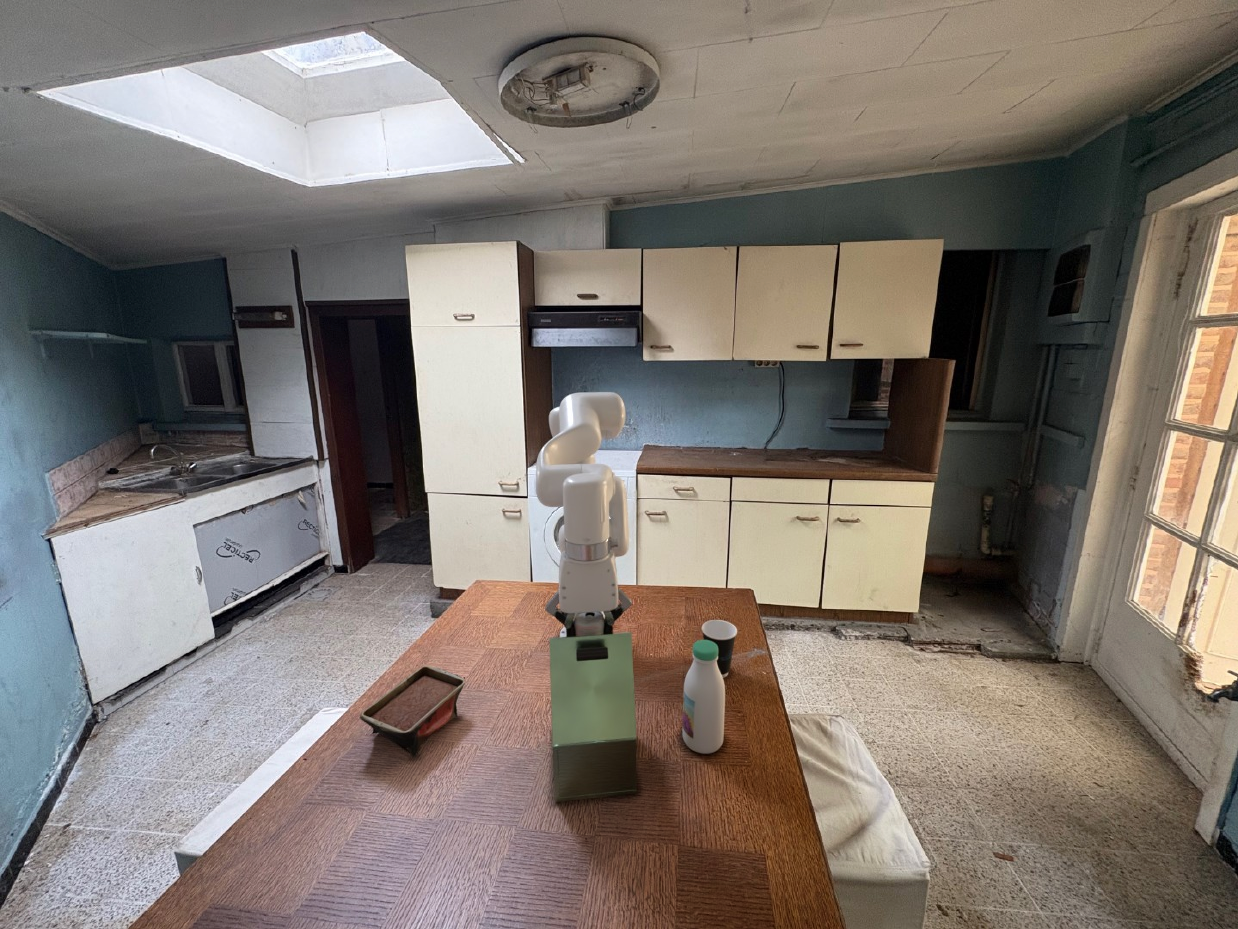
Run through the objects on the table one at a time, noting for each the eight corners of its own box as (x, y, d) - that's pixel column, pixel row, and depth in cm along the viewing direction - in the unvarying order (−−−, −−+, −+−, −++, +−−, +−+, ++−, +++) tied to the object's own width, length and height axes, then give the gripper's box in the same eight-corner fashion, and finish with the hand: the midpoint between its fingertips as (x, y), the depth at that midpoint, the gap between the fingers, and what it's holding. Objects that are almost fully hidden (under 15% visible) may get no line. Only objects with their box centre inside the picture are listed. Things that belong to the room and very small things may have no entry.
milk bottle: (725, 729, 98) (729, 638, 93) (720, 759, 91) (724, 662, 86) (686, 720, 100) (688, 631, 96) (678, 749, 93) (680, 653, 89)
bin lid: (549, 637, 83) (548, 644, 78) (630, 632, 84) (634, 637, 79) (552, 743, 80) (551, 756, 75) (636, 735, 82) (640, 748, 77)
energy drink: (607, 668, 92) (606, 609, 89) (603, 687, 87) (602, 625, 84) (578, 667, 93) (576, 607, 90) (573, 685, 87) (571, 623, 85)
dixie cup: (703, 658, 120) (704, 617, 118) (737, 665, 118) (739, 622, 115) (697, 678, 113) (698, 635, 111) (732, 686, 111) (734, 641, 108)
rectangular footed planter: (474, 722, 103) (473, 675, 103) (400, 773, 88) (399, 718, 87) (425, 705, 110) (424, 660, 110) (348, 750, 94) (347, 698, 94)
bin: (556, 732, 98) (554, 684, 95) (625, 726, 99) (624, 678, 97) (555, 802, 83) (552, 747, 80) (636, 793, 84) (636, 739, 82)
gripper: (634, 536, 89) (634, 628, 93) (537, 541, 87) (541, 635, 91) (640, 553, 81) (641, 652, 85) (534, 559, 80) (539, 660, 84)
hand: (589, 642), depth 88 cm, fingers closed on energy drink, 5 cm apart
